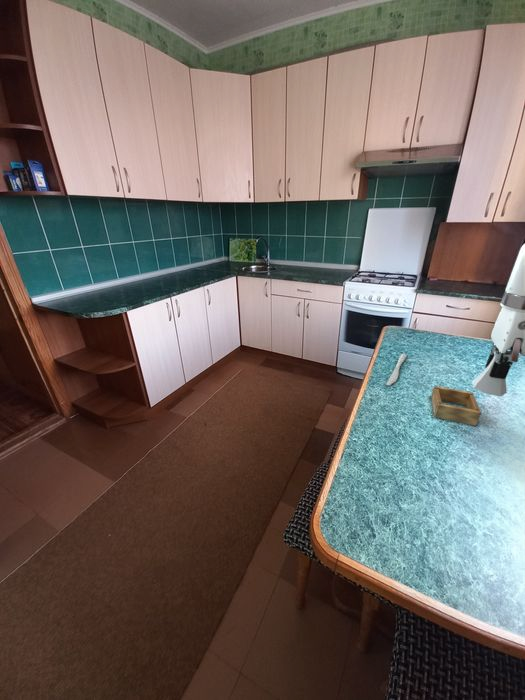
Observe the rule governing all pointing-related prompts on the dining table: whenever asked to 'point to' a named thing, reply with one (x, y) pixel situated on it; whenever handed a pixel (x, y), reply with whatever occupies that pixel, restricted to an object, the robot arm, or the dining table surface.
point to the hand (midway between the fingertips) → (494, 372)
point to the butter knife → (396, 370)
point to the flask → (490, 380)
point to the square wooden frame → (452, 412)
